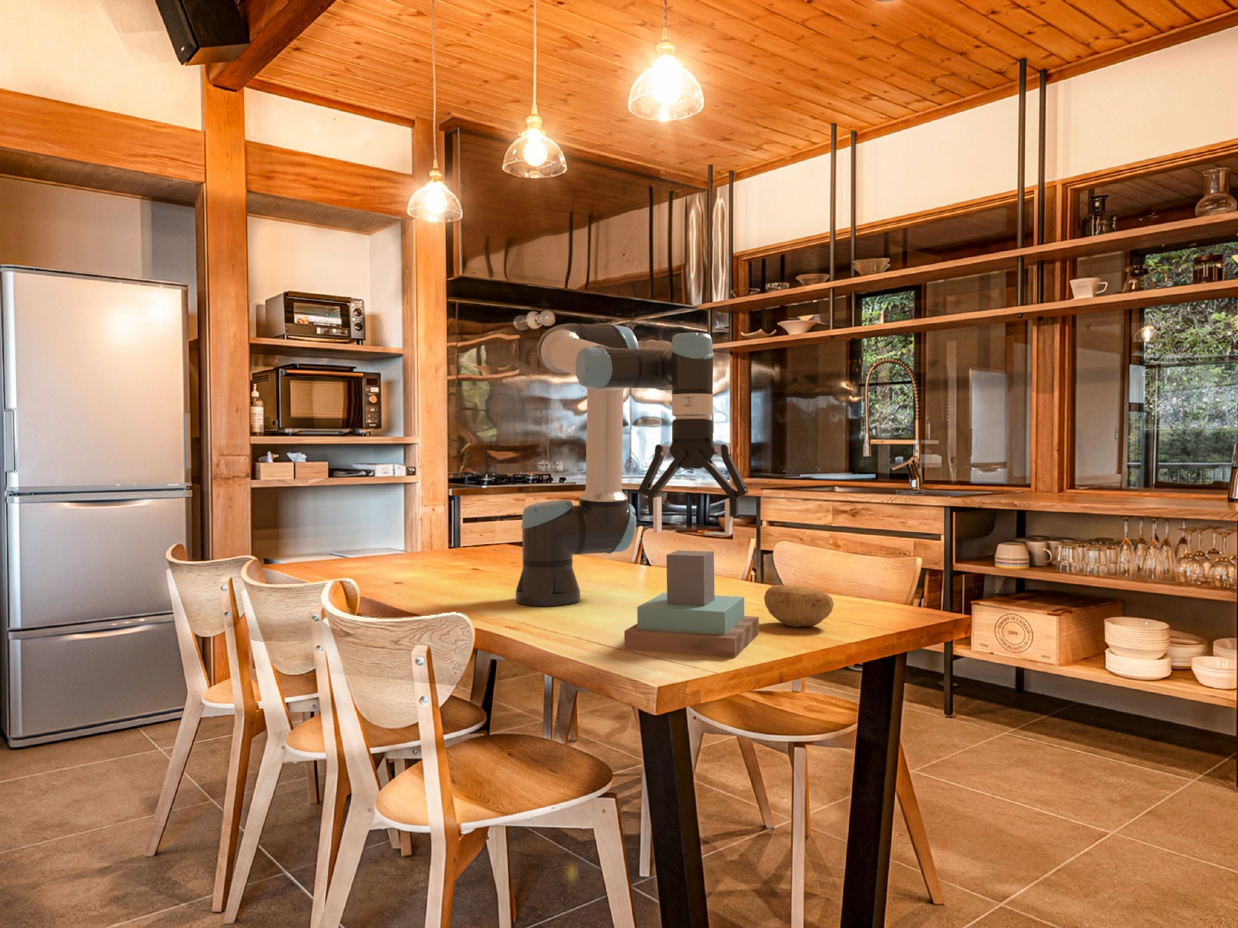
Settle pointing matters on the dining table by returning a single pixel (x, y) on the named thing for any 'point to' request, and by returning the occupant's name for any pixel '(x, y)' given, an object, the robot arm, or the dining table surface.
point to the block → (690, 577)
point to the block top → (691, 615)
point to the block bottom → (694, 640)
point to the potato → (798, 605)
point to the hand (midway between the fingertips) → (692, 533)
